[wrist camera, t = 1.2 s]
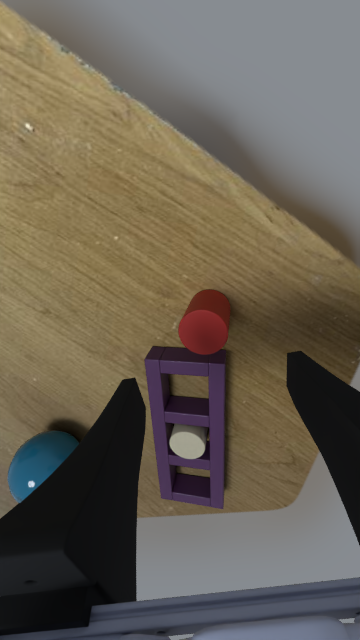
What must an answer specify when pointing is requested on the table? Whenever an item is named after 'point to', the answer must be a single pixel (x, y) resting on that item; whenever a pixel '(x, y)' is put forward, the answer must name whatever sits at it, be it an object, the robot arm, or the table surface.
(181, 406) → the board
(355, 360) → the table surface
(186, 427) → the cream token
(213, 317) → the cylinder
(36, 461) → the ball
